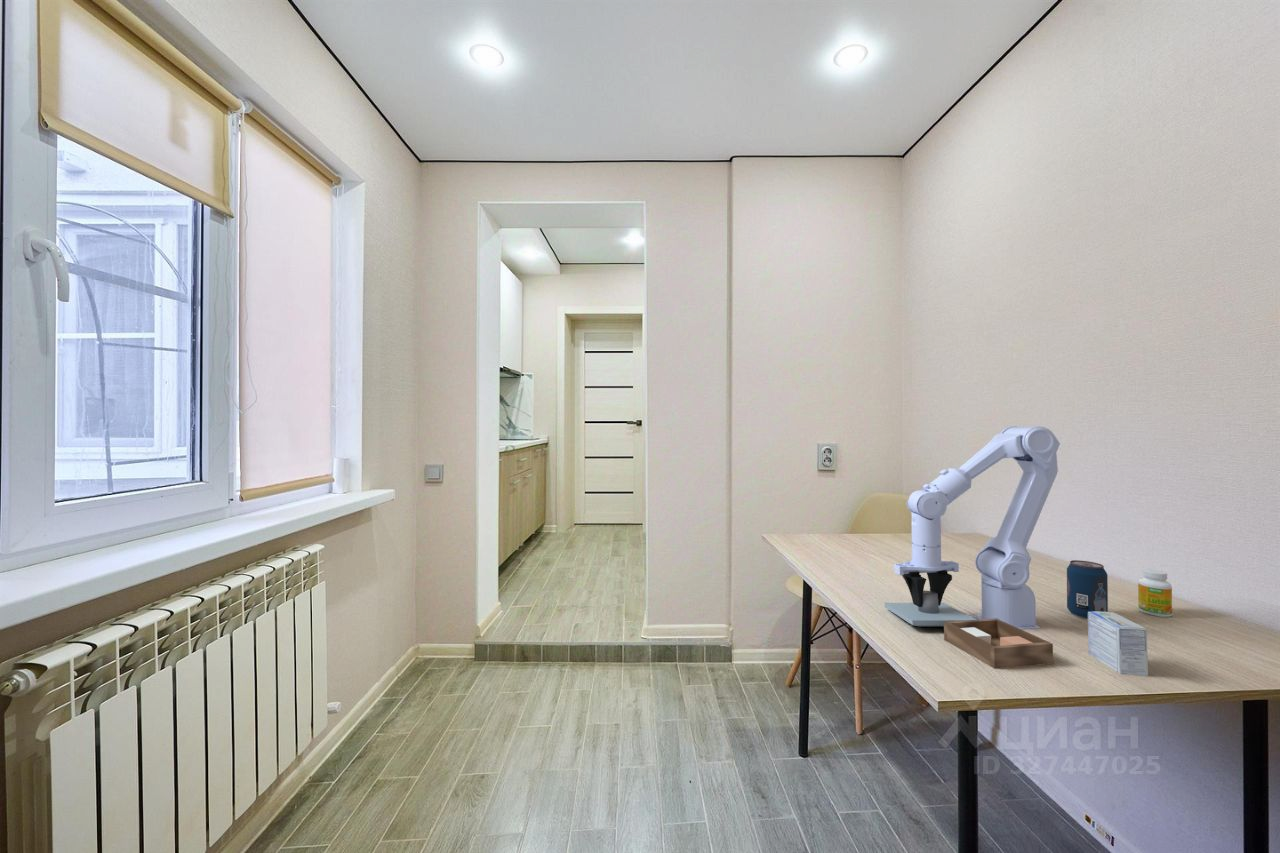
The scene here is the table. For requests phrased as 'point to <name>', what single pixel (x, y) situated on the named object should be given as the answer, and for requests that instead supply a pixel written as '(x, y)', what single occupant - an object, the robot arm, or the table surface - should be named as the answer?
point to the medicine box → (1118, 643)
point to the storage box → (998, 644)
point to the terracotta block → (1013, 640)
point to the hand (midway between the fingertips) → (926, 604)
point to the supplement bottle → (1155, 593)
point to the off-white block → (978, 634)
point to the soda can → (1086, 588)
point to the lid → (927, 611)
